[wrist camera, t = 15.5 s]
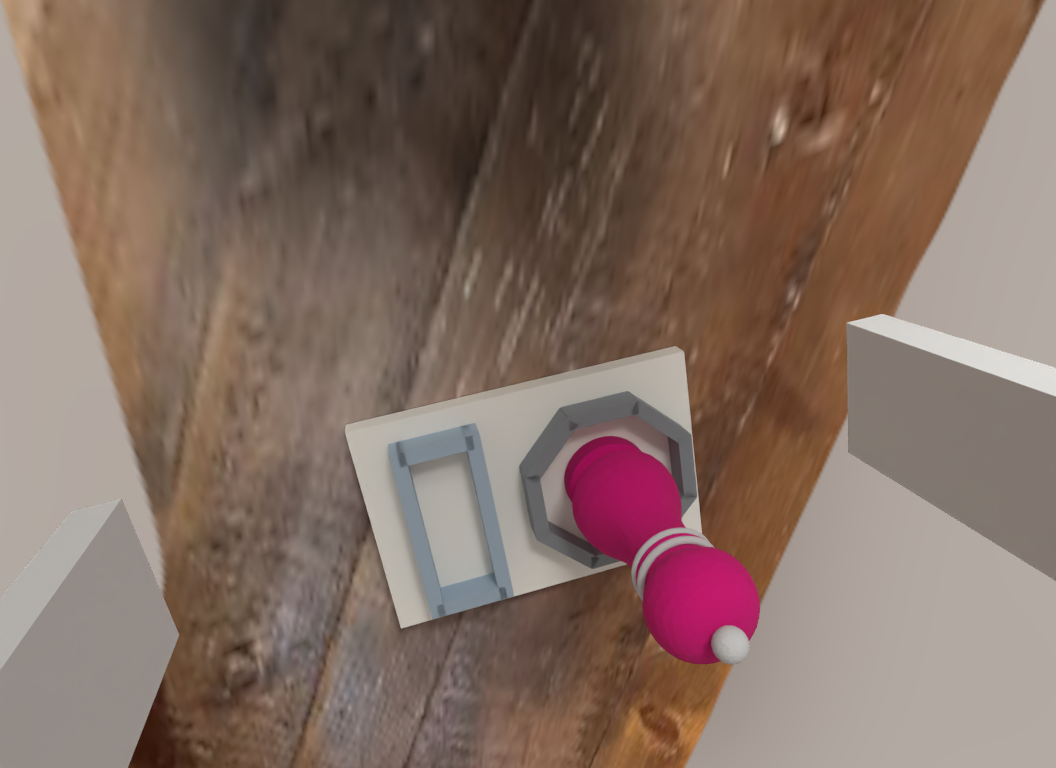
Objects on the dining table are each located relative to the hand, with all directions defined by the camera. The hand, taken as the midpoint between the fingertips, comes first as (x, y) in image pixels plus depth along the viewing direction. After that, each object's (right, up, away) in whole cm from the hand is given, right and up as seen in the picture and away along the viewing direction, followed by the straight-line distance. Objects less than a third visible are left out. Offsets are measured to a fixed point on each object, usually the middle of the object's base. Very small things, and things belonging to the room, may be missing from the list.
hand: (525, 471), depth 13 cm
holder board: (+1, -6, +39) cm, 40 cm away
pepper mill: (+6, -5, +39) cm, 40 cm away
